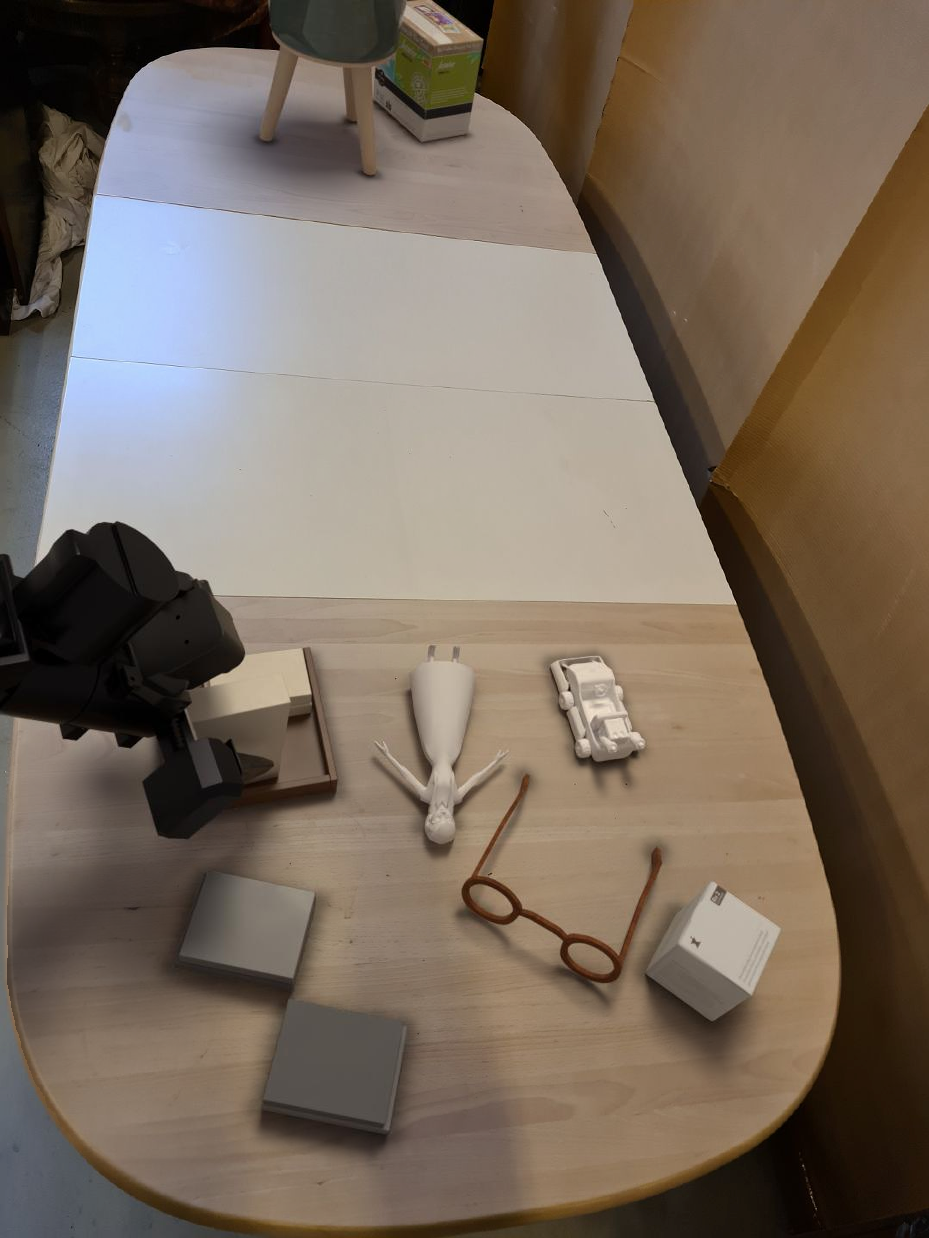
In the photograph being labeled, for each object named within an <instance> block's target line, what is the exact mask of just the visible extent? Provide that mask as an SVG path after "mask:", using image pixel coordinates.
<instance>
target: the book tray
mask: <svg viewBox="0 0 929 1238" xmlns="http://www.w3.org/2000/svg"><path fill="white" fill-rule="evenodd" d="M301 648H302V649H303V654H304V659H305V664H306V669H307V674H308V679H309V684H310V689H311V693H312V695H311V703H312V709H311V713H309V714H302V715H295V716H288V722H287V728H286V734H285V740H284V746H283V752H282V758H281V764H280V770H279V776H278V777H275V778H271V779H266V780H262V781H258V782H254V783H249V784H245V785H244V787H243V791H242V795H241V797H240V798H239V799H238V800H236V801H235V802H234V803H233V804H231V805H230V806H229V807H228V808H226V809H225V810H224V811H231V810H236V809H242V808H246V807H252V806H258V805H264V804H269V803H275V802H281V801H286V800H293V799H298V798H303V797H309V796H314V795H321V794H327V793H331V792H336V791H337V790H338V782H339V777H338V773H337V769H336V768H337V767H336V764H335V763H336V762H335V758H334V754H333V750H332V744H331V739H330V735H329V730H328V726H327V721H326V716H325V711H324V706H323V702H322V697H321V692H320V688H319V682H318V678H317V672H316V669H315V663H314V660H313V655H312V650H311V647H310V646H308V647H301ZM198 688H204V684H202V685H200V686H198V687H196V688H194V689H198ZM192 690H193V689H192ZM185 691H188V690H185ZM161 763H162V764H163V763H164V760H163V756H162V755H161Z"/></svg>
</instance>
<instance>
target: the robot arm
mask: <svg viewBox="0 0 929 1238" xmlns="http://www.w3.org/2000/svg"><path fill="white" fill-rule="evenodd" d="M209 582H210V581H208V580H207V579H198V578H197V577H196V578H193V576H192V575H191V574H189V573H188V572H184V571H180V570H176V569H175V567H174V565H173V564H172V561H171V560H170V559H169V557H167V555H166V554H165V552H164V551H163V550H162V549H161V548H160V547H159V546H158V545H157V544H156V543H155V542H154V541H152V539H150V538H149V537H148V536H147V535H145V534H144V533H142V532H141V531H140V530H138V529H137V528H134V527H133V526H131V525H129V524H127V523H124V522H122V521H118V520H116V521H114V522H109V521H102V522H96V523H95V524H94V525H93V526H91V527H90V528H89V529H88V530H87V531H86V532H85V533H84V532H82V531H79V530H76V529H73V528H70V529H66V530H65V531H64V532H63V533H62V534H60V536H59V537H58V538H57V539H56V540H55V541H54V542H53V543H52V545H51V547H50V549H49V550H48V552H47V554H46V555H45V556H44V557H43V558H42V559H40V561H39V562H38V563H37V564H36V565H35V566H34V567H32V569H31V570H30V571H29V572H28V573H27V574H26V575H25V576H24V577H22V576H19V575H16V574H15V569H14V566H13V563H12V558H11V556H10V555H9V554H7V553H0V716H5V717H10V718H17V719H24V720H28V721H29V720H30V721H36V722H42V723H49V724H55V725H58V726H59V730H60V731H59V732H60V734H61V739H62V740H68V741H74V742H78V741H79V739H81V738H82V737H83V736H84V735H85V734H86V733H87V732H88V731H90V730H91V731H92V730H93V731H98V732H104V733H111V734H114V738H115V741H116V744H117V747H119V748H123V749H132V748H134V747H135V745H137V744H138V743H139V742H140V741H141V740H142V739H145V738H146V739H150V738H154V737H156V740H157V743H158V747H159V750H160V753H161V757H162V756H163V760H164V763H162V764H160V765H159V766H158V767H157V768H156V769H154V770H153V771H152V772H151V773H150V774H149V775H147V776H146V777H145V778H144V779H143V780H141V784H142V787H143V788H142V789H143V791H144V795H145V797H146V798H145V799H146V801H147V805H148V809H149V811H150V815H151V819H152V823H153V825H154V828H155V832H156V835H157V836H158V837H161V838H165V839H168V840H190V839H191V838H192V837H193V836H194V835H196V834H197V833H198V832H199V831H201V830H202V829H203V828H205V826H207V825H208V824H209V823H211V822H212V821H213V820H214V819H216V817H218V816H219V815H220V814H222V813H223V812H224V811H226V810H225V809H226V808H228V807H229V806H230V805H231V804H233V803H234V802H235V801H236V800H238V799H239V798H240V797H241V795H242V791H243V787H244V782H246V781H248V780H250V779H253V778H255V777H257V776H260V775H262V774H265V773H266V772H268V771H269V770H270V769H271V768H273V767H274V763H273V761H272V760H269V759H266V758H264V757H260V756H254V755H249V754H244V753H238V752H237V751H236V749H235V746H234V743H233V740H232V739H229V740H228V741H227V742H225V743H223V742H222V741H221V740H220V739H217V738H211V737H205V738H202V739H199V740H198V739H197V736H196V733H195V730H194V727H193V724H192V721H191V718H190V716H189V713H188V710H187V707H188V706H189V705H190V704H191V703H192V700H191V697H190V694H189V692H188V691H185V690H192V689H194V688H196V687H198V686H200V685H202V684H204V683H205V682H207V681H209V680H211V679H213V678H215V677H216V676H218V675H220V674H226V673H229V672H230V671H231V670H233V669H235V668H236V667H238V666H239V665H240V664H241V663H242V661H243V660H244V657H245V655H246V649H245V646H244V643H243V642H242V640H241V638H240V635H239V633H238V630H237V628H236V625H235V623H234V619H233V615H232V614H231V612H230V611H229V610H228V609H226V607H225V606H224V605H223V604H222V603H220V602H219V601H218V599H216V598H215V596H214V593H213V590H212V588H211V585H210V583H209Z"/></svg>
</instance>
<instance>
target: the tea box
mask: <svg viewBox="0 0 929 1238" xmlns="http://www.w3.org/2000/svg"><path fill="white" fill-rule="evenodd" d="M483 46H484V38H482V37H481V36H479V35H478V34H476V33H475V32H474V31H473V30H471V29H470V28H469V27H467V26H466V25H465V24H464V23H462V22H461V21H459V20H458V19H457V18H455V17H454V16H453V15H451V14H450V13H449V12H448V11H446V9H444V8H442V7H441V6H440V5H438V4H437V2H434V1H433V0H407V3H406V8H405V12H404V17H403V22H402V26H401V31H400V37H399V45H398V48H397V50H396V53H395V55H394V57H393V58H392V59H391V60H389V61H388V62H386V63H384V64H381V65H378V66H374V78H373V79H374V80H373V91H372V94H373V101H375V103H377V104H379V105H380V106H381V107H382V108H383V109H384V110H385V111H387V113H389V114H390V115H391V116H392V117H393V118H395V119H396V121H398V122H399V124H401V125H402V126H403V127H405V129H407V130H408V131H409V132H410V133H411V134H412V135H413V136H415V138H416V139H417V140H418V141H419V142H420V143H424V142H425V143H426V142H431V141H436V140H441V139H447V138H453V137H457V136H462V135H466V134H468V133H469V127H470V122H471V116H472V110H473V104H474V98H475V92H476V86H477V81H478V77H479V76H478V75H479V69H480V64H481V58H482V52H483V51H482V50H483Z"/></svg>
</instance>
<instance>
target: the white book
mask: <svg viewBox="0 0 929 1238" xmlns="http://www.w3.org/2000/svg"><path fill="white" fill-rule="evenodd" d="M188 692H189V694H190V697H191V700H192V703H191V704H190V705H189V706H188V707H187V710H188V713H189V716H190V718H191V721H192V724H193V727H194V730H195V733H196V736H197V739H198V740H199V739H202V738H205V737H211V738H217V739H220V740H221V741H222V742H223V743H225V742H227V741H228V740H229V739H232V740H233V743H234V746H235V749H236V751H237V752H238V753H244V754H249V755H254V756H260V757H264V758H266V759H269V760H272V761H273V763H274V767H273V768H271V769H270V770H269V771H268V772H266V773H265V774H262V775H260V776H257V777H255V778H253V779H250V780H248V781H246V782H244V785H245V784H249V783H254V782H258V781H262V780H266V779H271V778H275V777H278V776H279V770H280V764H281V758H282V752H283V746H284V740H285V734H286V728H287V722H288V716H289V710H290V704H291V701H290V697H289V694H288V691H287V687H286V684H285V680H284V677H283V674H282V673H278V674H272V675H267V676H262V677H256V678H251V679H246V680H241V681H235V682H230V683H225V684H219V685H214V686H209V687H204V688H198V689H193V690H188Z"/></svg>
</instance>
